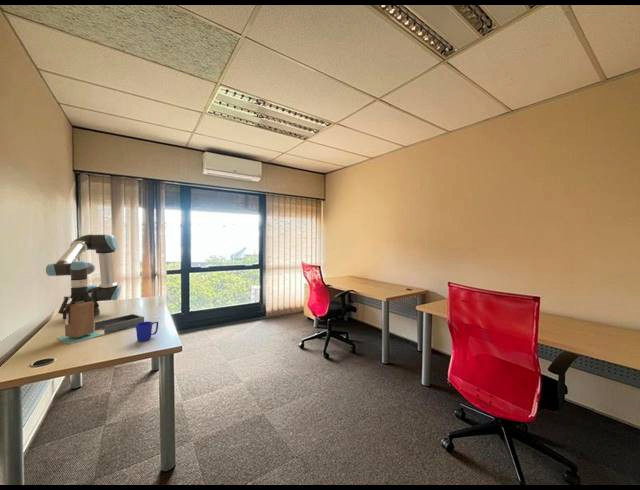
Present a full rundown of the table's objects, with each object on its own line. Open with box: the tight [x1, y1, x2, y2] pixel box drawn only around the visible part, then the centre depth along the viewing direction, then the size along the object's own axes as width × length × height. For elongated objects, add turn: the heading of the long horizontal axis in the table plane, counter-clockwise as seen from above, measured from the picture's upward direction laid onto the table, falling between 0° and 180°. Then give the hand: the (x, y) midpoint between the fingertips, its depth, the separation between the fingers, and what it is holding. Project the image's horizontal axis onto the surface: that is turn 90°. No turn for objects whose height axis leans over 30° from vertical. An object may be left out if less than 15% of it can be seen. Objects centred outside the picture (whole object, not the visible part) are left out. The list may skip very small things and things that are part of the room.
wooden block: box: [64, 301, 95, 338], centre depth 161 cm, size 10×10×20 cm
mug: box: [135, 321, 159, 343], centre depth 158 cm, size 8×12×10 cm
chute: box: [94, 313, 145, 335], centre depth 180 cm, size 15×23×5 cm, turn 151°
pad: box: [56, 331, 103, 345], centre depth 161 cm, size 18×16×1 cm
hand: (79, 321), depth 161 cm, fingers closed on wooden block, 11 cm apart
